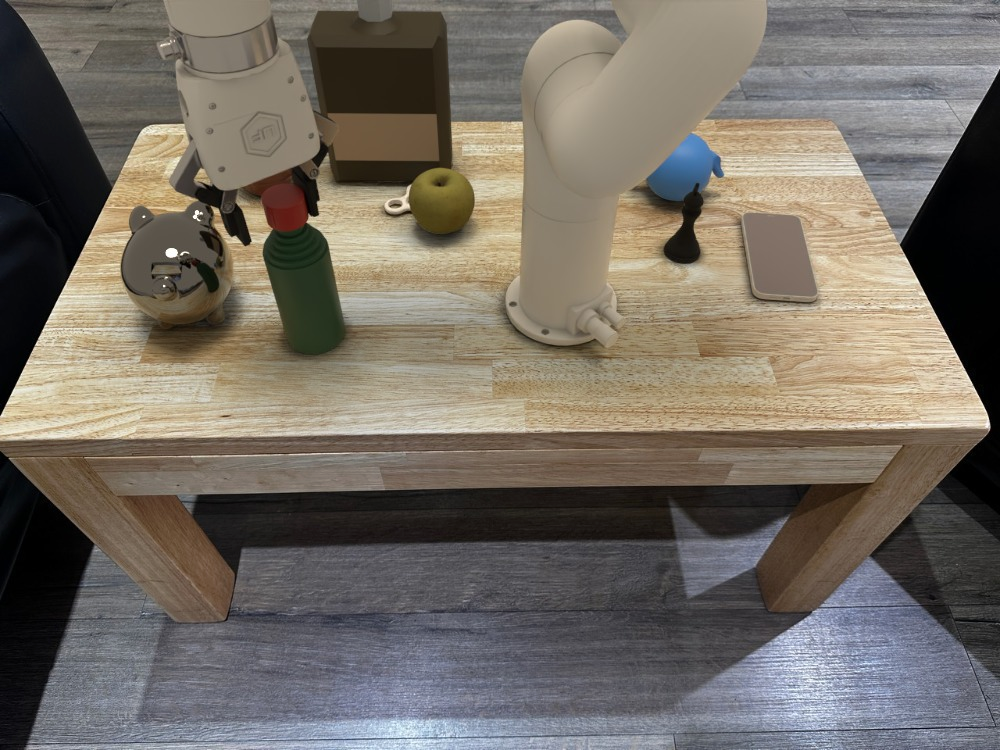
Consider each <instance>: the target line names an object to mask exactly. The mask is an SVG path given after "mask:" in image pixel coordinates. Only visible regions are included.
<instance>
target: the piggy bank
mask: <svg viewBox="0 0 1000 750" xmlns="http://www.w3.org/2000/svg"><path fill="white" fill-rule="evenodd" d="M215 221H216V214H215V212H214V209H213V207H212V206H210V205H207V204H204V203H202V202H200V201H199V200H197V199H196V200H195V201H192V202H191V203H190V204H189V205H188V206H187V207H186V208H185V209H184V210H183V211H168V212H163V213H159V214H154V213H153V212H152V211H151V210H150V209H149V208H148V207H147V206H145V205H137V206H135V207H134V208H133V209H132V210H131V211H130V214H129V218H128V227H129V229H130V233H131V234H130V236H129V238H128V240H127V242H126V244H125V246H124V248H123V251H122V254H121V258H120V263H119V264H120V265H119V275H120V279H121V280H120V281H121V284H122V288H123V289H124V291H125V293H126V295H127V296H128V298H129V299H130V301H131V302H132V303H133V305H134V306H136V308H138V309H139V310H140V311H141V312H143V313H144V314H145V315H147V316H149V317H150V318H152V319H154V320H156V321H157V324H158V326H159V327H160V328H161V329H163V330H170V329H172V328H174V327H175V326H176V325H187V324H194V323H197V322H200V321H201V320H204V319H206V321H207V322H208V324H209V323H210V324H211V325H218V324H221V323H222V322H223V321H224V320H225V311H224V307H223V303H224V302H225V300H226V299H227V297H228V296H229V293H230V291H231V288H232V286H233V285H232V284H233V281H234V259H233V255H232V251H231V248H230V246H229V244H228V242H227V240H226V239H225V237H224V236H223V234H222V233H221V232H220V231H219V230H218V228H216V226H215V223H216V222H215Z"/></svg>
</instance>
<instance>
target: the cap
mask: <svg viewBox="0 0 1000 750" xmlns="http://www.w3.org/2000/svg"><path fill="white" fill-rule="evenodd" d="M260 200H261V201H260V202H261V204H262V208H263V212H264V216H265V219H266V224H267V225H268V226H269V227H270V228H271V229H272V230H273V229H274V230H277V231H292V230H296V229H298V228H300V227H302V226H303V225H304V224H306V223H308V221H309V218H310V215H309V214H308V210H307V205H306V201H305V196H304V192H303V190H302V189H301V188H300V187H298V186H296V185H293V184H278V185H275V186H272V187H270V188H268V189H267V190H266V191H264V193H263V194H262V196H260Z"/></svg>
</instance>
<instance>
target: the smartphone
mask: <svg viewBox="0 0 1000 750" xmlns="http://www.w3.org/2000/svg"><path fill="white" fill-rule="evenodd" d="M740 226H741V231H742V239H743V245H744V251H745V257H746V263H747V269H748V275H749V282H750V288H751V292H752V295H753V296H754V297H756V298H758V299H760V300H761V299H762V300H773V301H784V302H785V301H787V302H801V303H812V302H815V301H816V300H817V298H818V295H819V288H818V285H817V280H816V275H815V272H814V268H813V263H812V259H811V254H810V250H809V247H808V243H807V239H806V234H805V230H804V226H803V222H802V219H801V218H800V217H799V216H797V215H795V214H789V213H771V212H758V211H757V212H756V211H745V212H744V213H742V215H741V218H740Z"/></svg>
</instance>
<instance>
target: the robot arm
mask: <svg viewBox="0 0 1000 750" xmlns="http://www.w3.org/2000/svg"><path fill="white" fill-rule="evenodd" d="M162 1H163V4H164V7H165V11H166V13H167V17H168V20H169V22H167V27H168V30H169V31H168V35H169V36H167V37H165V38H164V40H161V41H157V42H156V48H157V51H158V53H159V54H160V57H161V59H162V60H163V61H165V62H166V61H169V60H172V59H173V60H174V61H175V60H176V61H175V66H174V67H175V77H176V79H175V80H176V87H177V93H178V100H179V107H180V113H181V116H182V120H183V125H184V129H185V133H186V137H187V141H188V145H187V147H186V149H185V150H184V152H183V154H182V156H181V157H180V159H179V161H178V163H177V164H176V165H175V168H174V170H173V171H172V173H171V175H170V177H169V179H168V183H169V185H170V186H171V187H172V189H173V190H174V191H175V192H176V193H179V194H181V195H184V196H186V197H188V198H190V199H195V200H196V201H197V200H199V201H200V202H202V203H204V204H207V205H210V206H211V207H212V208H215V209H218V212H219V216H220V217H221V221H222V225H223V227H224V229H225V231H226V233H227V234H228V235H229V237H230V238H234V237H236V238H237V239H238V240H239V241H240V243H241V244H242V245H243V247H248V246H249V245H251V243H253V242H252V237H251V234H250V231H249V227H248V224H247V221H246V217H245V214H244V211H243V209H242V208H241V207H240V205H238V203H237V202H236V201H237V196H238V190H239V189H241V188H245V187H244V186H246V185H249V184H252V183H254V182H257V181H260V180H262V179H265V178H267V177H270V176H272V175H275V174H278V173H280V172H283V171H285V170H288V169H290V168H291V169H292V171H291V176H292V180H293V184H294V185H296V186H298V187H300V188H301V189H302V190H303V192H304V196H305V201H306V205H307V210H308V214H309V217H313V218H316V217H319V216H320V210H319V206H318V202H320V201H321V196H320V191H319V187H318V183H317V179H318V177H320V173H321V170H320V169H319V168H320V167H321V165H322V164H323V162H324V160H325V158H326V157H327V155H328V150H329V149H328V147H329V145H331V143H332V142H333V140H334V138H335V136H336V135H337V133H338V131H339V126H338V125H337V124H336V123H335V122H334V121H333V120H332V119H330V118H328V117H326V116H324V115H323V114H321V112H319V111H317V110H314V109H313V107H312V104H311V101H310V97H309V93H308V90H307V87H306V85H305V81H304V79H303V76H302V73H301V70H300V68H299V65H298V62H297V60H296V57H295V54H294V53H293V50H292V48H291V46H290V45H289V44H288V43H287V42H286V41H285V40H283V39H281V38H280V37H278V34H277V29H276V25H275V20H274V19H275V18H274V16H273V15H274V14H273V11H272V6H271V2H270V0H162ZM610 2H611V6H612V8H613V11H614V14H615V15H616V18H617V19H618V20H619V23H620V25H621V26H622V28H623V30H624V31H625V33H626V35H627V38H626V39H625V41H624V42H623V44H622V43H621V42H620V40H619V39H618V38H617V37H616V36H615V35H614V34H613V33H612V32H611V31H610V30H608V29H607V28H605V27H604V26H602V25H600V24H598V23H596V22H593V21H590V20H586V19H571V20H566V21H562V22H559V23H557V24H555V25H552V26H551V27H550V28H549V29H547V30H546V31H544V32H543V33H542V34H541V35H540V36H539V37H538V39H537V40H536V41H535V42H534V43H533V45H532V46H531V48H530V50H529V52H528V54H527V56H526V59H525V61H524V65H523V69H522V70H523V71H522V74H521V82H520V83H521V85H520V100H521V101H520V102H521V119H522V120H521V121H522V136H523V177H522V180H523V181H522V200H521V201H522V202H521V233H520V257H519V258H520V261H519V274H518V275H517V276H515V278H514V279H513V280H512V281H511V282H510V284H509V285H508V288H507V290H506V292H505V299H504V300H505V301H504V302H505V312H506V315H507V318H508V319H509V321H510V323H511V324H512V325H513V326H514V327H515V329H516V330H518V331H519V332H520V333H521V334H523V335H525V337H528V338H530V339H532V340H533V341H537V342H539V343H543V344H547V345H553V346H577V345H581V344H585V343H588V342H591V341H593V340H596V341H597V342H599V343H600V344H601V345H602V346H604V347H605V348H606V349H610V348H612V347H613V346H614V345H615V344H616V343H617V342H618V339H619V337H620V336H619V333H618V332H617V331H616V330H615V329H617V330H619V329H621V328H623V327H624V325H625V324H626V321H627V319H626V318H625V317H624V316H623V315H621V313H619V312H618V311H617V309H618V299H617V294H616V293H615V290H614V288H613V287H612V286H611V284H610V283H609V281H608V275H609V268H610V262H611V255H612V248H613V241H614V235H615V227H616V220H617V215H618V214H617V213H618V208H619V207H618V206H619V202H620V196H621V195H622V194H625V193H627V192H629V191H630V190H632V189H634V188H636V187H637V186H639V185H640V184H641V183H643V182H644V181H646V180H645V179H646V178H647V177H648V176H650V175H651V174H652V173H653V172H654V171H655V170H656V169H657V168H658V167H659V166H660V165H661V164H662V163H663V162H664V161H665V160H666V159H667V158H668V157H669V156H670V155H671V154H672V153H673V152H674V151H675V150H676V148H677V147H678V146H679V145H680V144H681V143H682V142H683V141H684V140H685V139H686V138H687V137H688V136H689V135H690V134H691V133H693V132H694V130H695V129H696V128H697V127H698V126H699V125H700V124H701V123H702V122H703V121H704V120H705V119H706V118H707V116H709V114H710V113H712V111H713V110H715V108H716V107H717V106H718V105H719V104H720V103H721V102H722V100H723V99H725V97H726V96H727V95H728V94H729V93H730V92H731V91H732V90H733V88H734V87H735V86H736V85H737V84H738V83H739V82H740V81H741V80H742V78H743V77H744V75H745V74H746V73H747V71H748V69H749V68H750V66H751V65H752V64H753V61H754V60H755V58H756V56H757V54H758V52H759V49H760V47H761V45H762V42H763V39H764V36H765V33H766V28H767V22H768V4H767V0H610ZM201 169H202V170H204V172H205V174H206V176H207V178H208V180H209V184H207V183H205V182H202V181H200V180H199V181H198V180H195V178H196V177H197V175H198V173H199V171H200V170H201ZM611 326H613V327H614V328H615V329H613V328H612V327H611Z"/></svg>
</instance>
